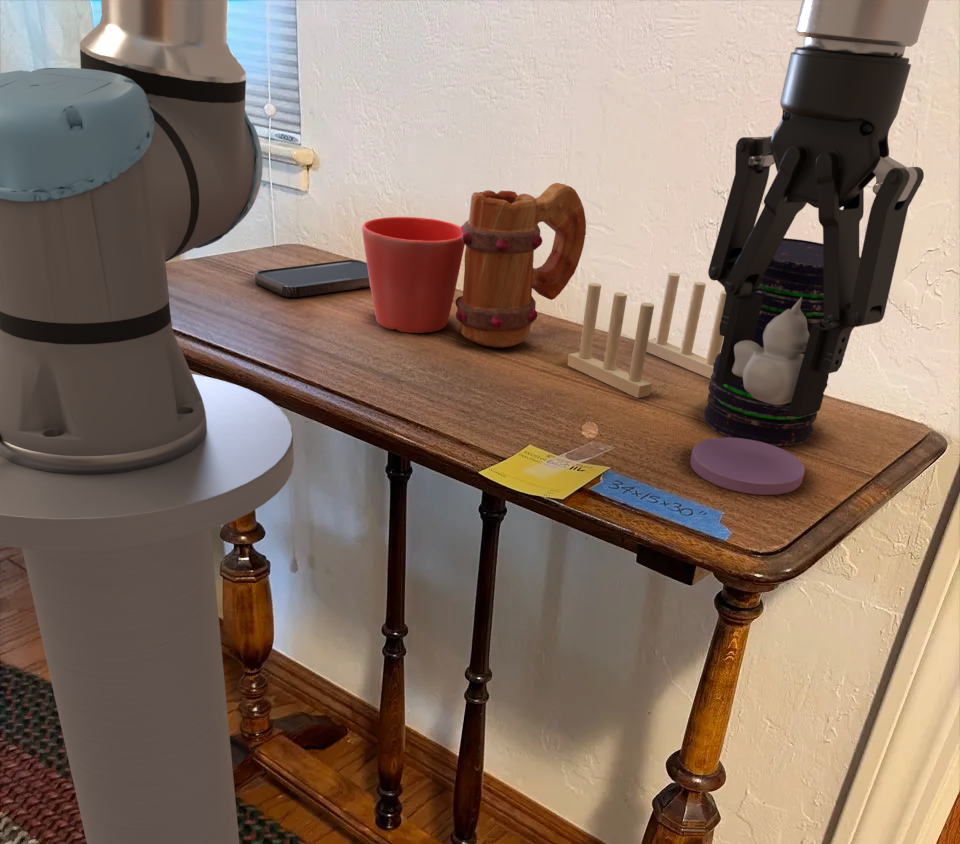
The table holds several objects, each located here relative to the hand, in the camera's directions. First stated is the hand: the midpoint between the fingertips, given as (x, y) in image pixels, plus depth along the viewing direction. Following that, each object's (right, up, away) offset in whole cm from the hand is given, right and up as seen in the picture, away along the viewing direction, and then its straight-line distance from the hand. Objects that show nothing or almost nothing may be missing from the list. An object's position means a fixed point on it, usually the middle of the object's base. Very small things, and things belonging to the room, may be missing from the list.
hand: (765, 395), depth 74 cm
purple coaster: (-1, -5, +4) cm, 6 cm away
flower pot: (-30, +15, +30) cm, 45 cm away
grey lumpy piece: (0, 0, 0) cm, 0 cm away
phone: (-41, +23, +40) cm, 61 cm away
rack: (-5, +8, +22) cm, 24 cm away
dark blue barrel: (+3, 0, +12) cm, 13 cm away
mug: (-19, +13, +28) cm, 36 cm away
